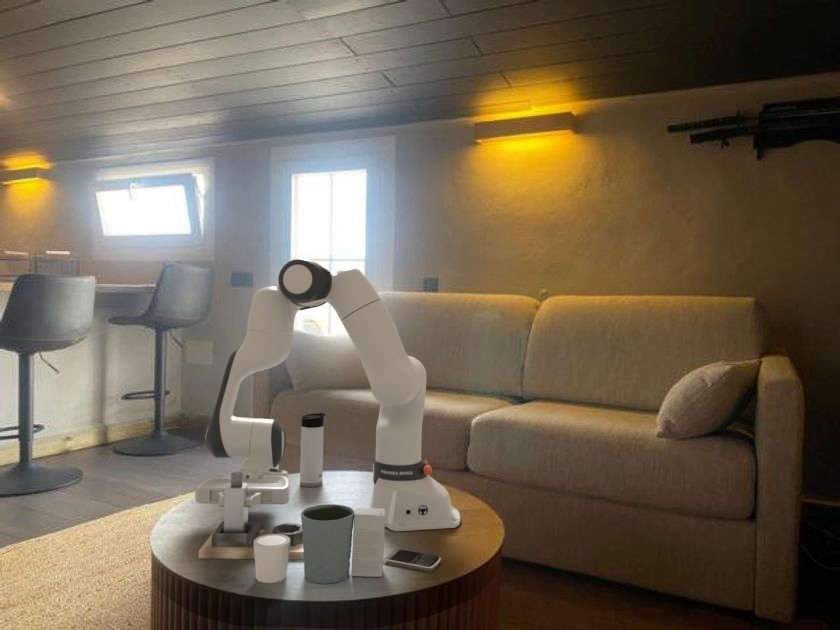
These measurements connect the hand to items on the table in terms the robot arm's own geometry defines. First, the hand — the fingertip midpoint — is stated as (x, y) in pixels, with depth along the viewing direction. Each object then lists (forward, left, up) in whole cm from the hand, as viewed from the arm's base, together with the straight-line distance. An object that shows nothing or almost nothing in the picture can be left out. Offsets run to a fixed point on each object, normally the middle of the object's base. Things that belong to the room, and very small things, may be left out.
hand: (235, 503), depth 134 cm
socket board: (-5, -1, -10) cm, 11 cm away
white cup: (-10, +13, -10) cm, 19 cm away
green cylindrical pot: (-21, +12, -10) cm, 26 cm away
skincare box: (-28, +11, -10) cm, 32 cm away
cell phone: (-37, +6, -10) cm, 39 cm away
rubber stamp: (0, -1, -6) cm, 7 cm away
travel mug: (-10, -47, -10) cm, 49 cm away
